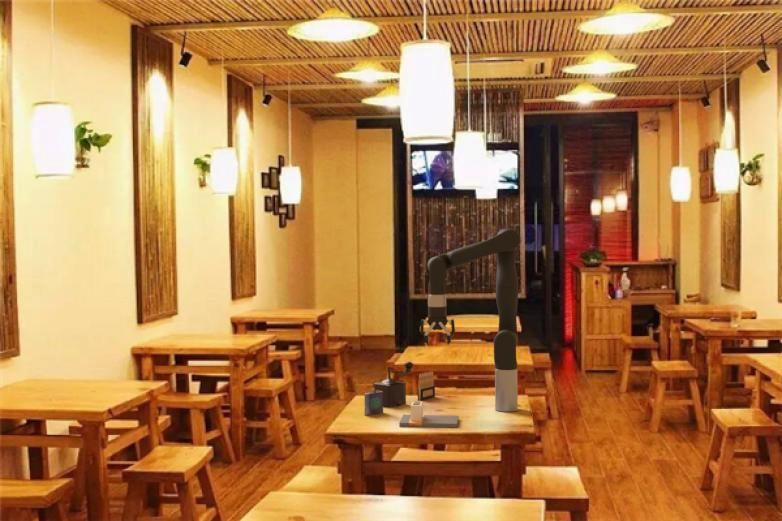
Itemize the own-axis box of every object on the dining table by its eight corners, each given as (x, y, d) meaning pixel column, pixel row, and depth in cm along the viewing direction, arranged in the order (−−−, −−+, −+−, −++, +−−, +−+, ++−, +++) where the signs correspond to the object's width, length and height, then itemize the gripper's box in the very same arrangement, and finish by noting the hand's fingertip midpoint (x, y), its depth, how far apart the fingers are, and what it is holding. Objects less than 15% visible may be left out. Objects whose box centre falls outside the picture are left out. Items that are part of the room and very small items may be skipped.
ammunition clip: (420, 400, 410) (420, 373, 409) (417, 400, 411) (417, 373, 410) (435, 397, 418) (434, 370, 418) (431, 396, 419) (431, 370, 419)
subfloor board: (458, 419, 371) (458, 415, 371) (456, 427, 356) (456, 423, 356) (403, 418, 374) (403, 414, 373) (399, 426, 359) (399, 422, 359)
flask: (366, 416, 379) (366, 389, 379) (362, 414, 381) (362, 388, 381) (384, 413, 385) (384, 387, 384) (380, 411, 387) (380, 386, 387)
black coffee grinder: (390, 408, 395) (390, 365, 394) (372, 404, 402) (372, 363, 402) (415, 402, 406) (415, 361, 405) (397, 399, 413) (397, 359, 413)
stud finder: (422, 416, 369) (422, 400, 369) (421, 421, 361) (421, 404, 361) (412, 416, 370) (412, 400, 369) (410, 420, 362) (410, 404, 361)
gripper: (454, 304, 388) (455, 343, 388) (420, 304, 389) (421, 343, 390) (454, 306, 380) (454, 345, 381) (419, 306, 382) (419, 345, 382)
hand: (437, 344), depth 385 cm, fingers open, 8 cm apart
